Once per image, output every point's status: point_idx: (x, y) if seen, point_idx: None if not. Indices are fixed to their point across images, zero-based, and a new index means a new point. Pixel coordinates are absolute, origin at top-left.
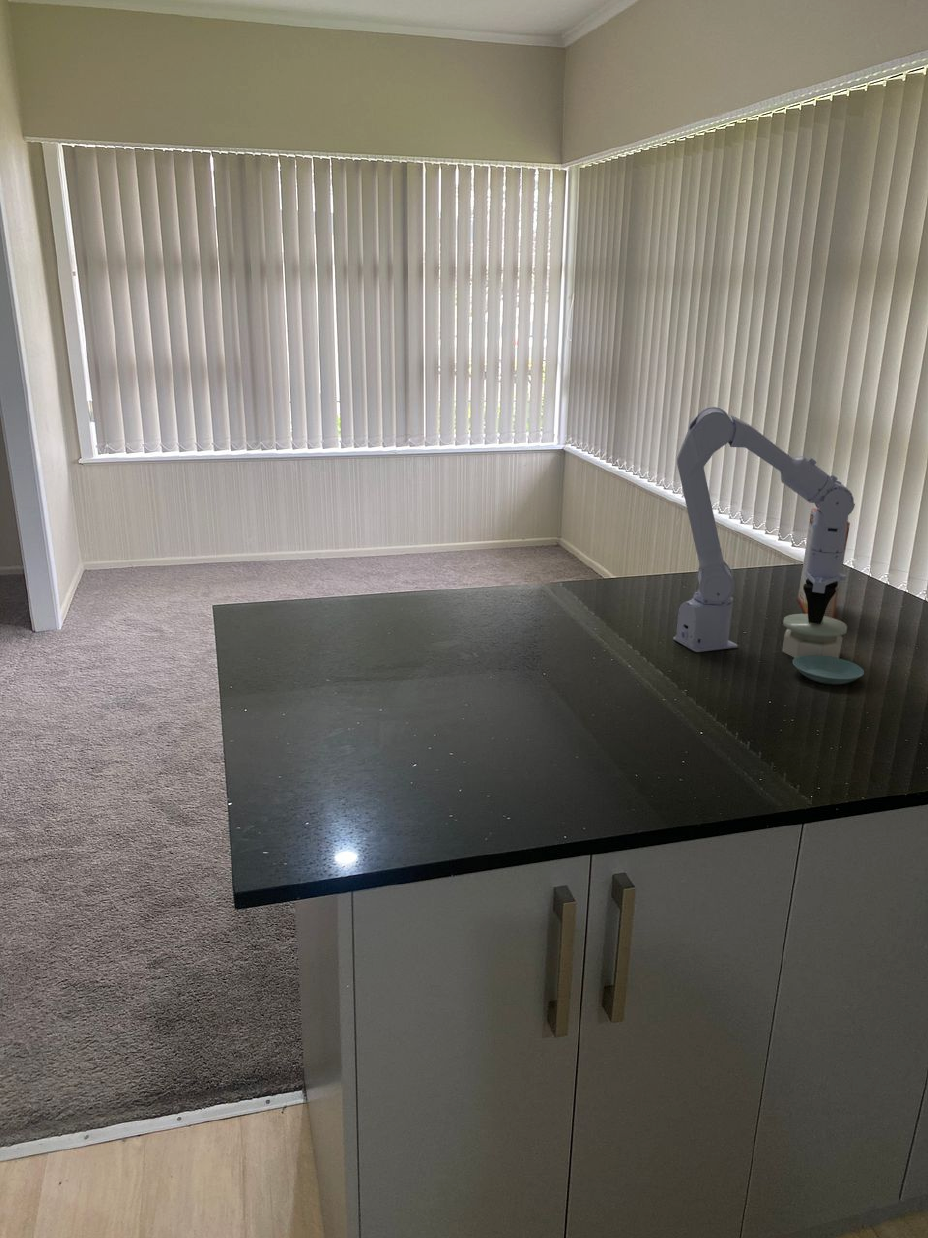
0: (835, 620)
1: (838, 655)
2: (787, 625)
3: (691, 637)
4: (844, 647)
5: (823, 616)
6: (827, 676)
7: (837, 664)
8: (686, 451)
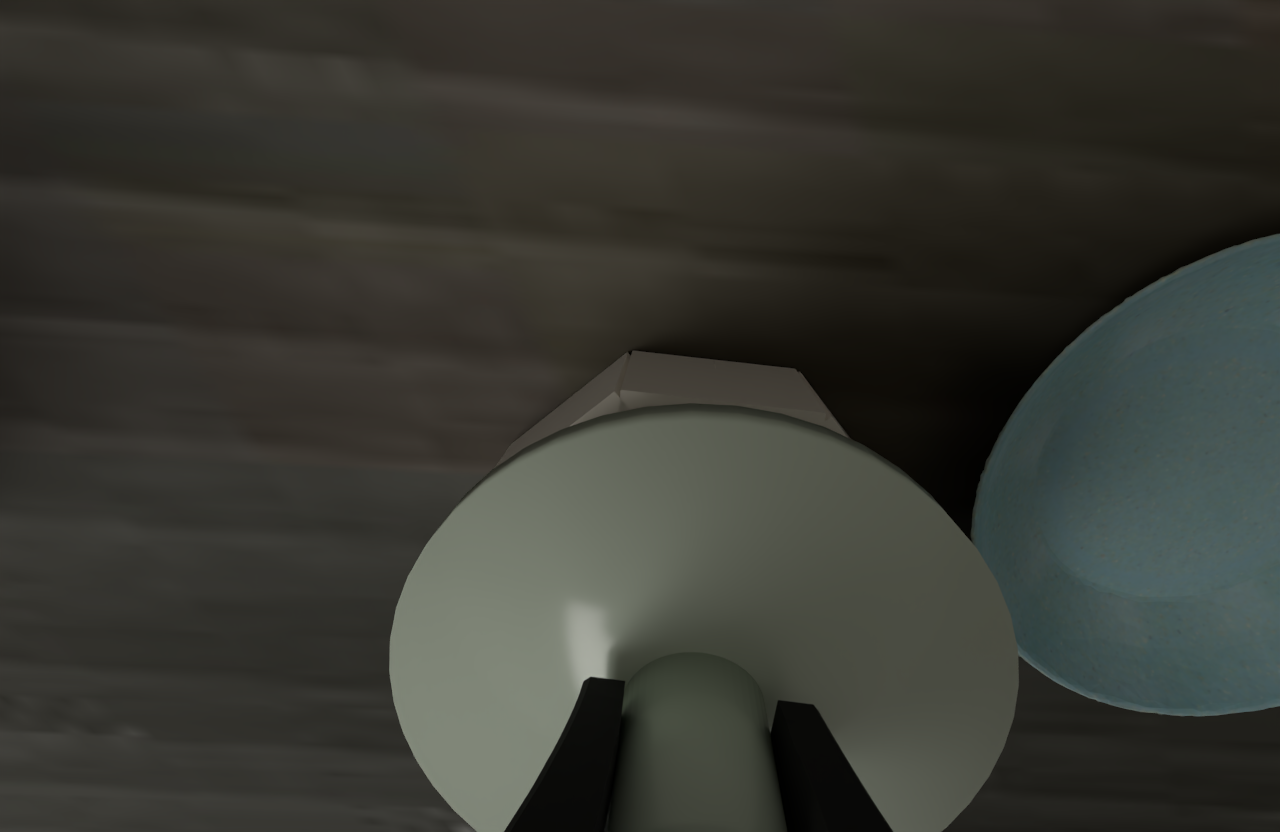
0: (506, 526)
1: (810, 386)
2: None
3: None
4: (463, 306)
5: (855, 775)
6: (1205, 467)
7: (1036, 406)
8: None
